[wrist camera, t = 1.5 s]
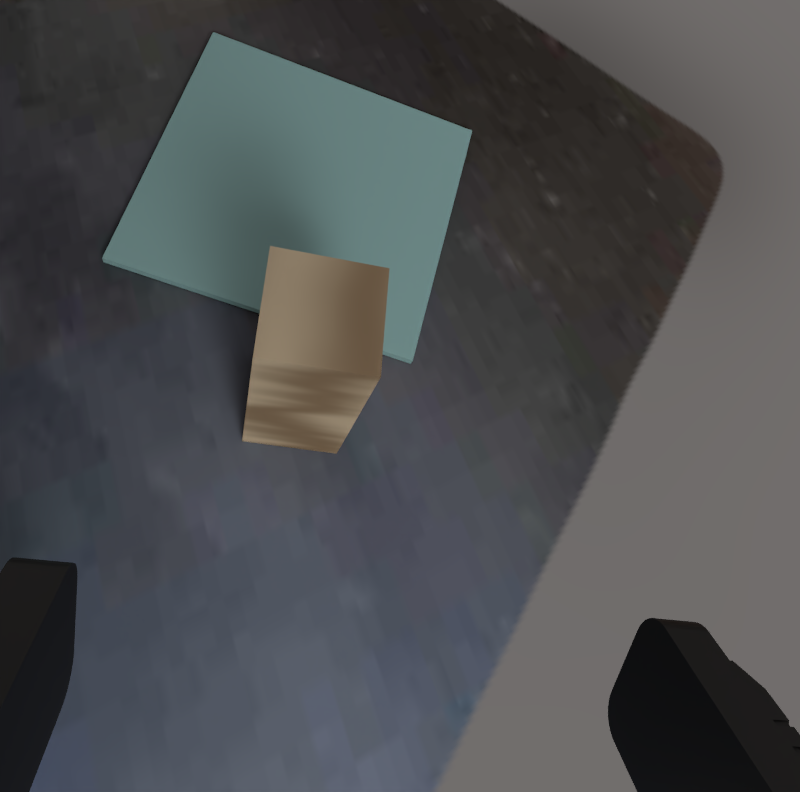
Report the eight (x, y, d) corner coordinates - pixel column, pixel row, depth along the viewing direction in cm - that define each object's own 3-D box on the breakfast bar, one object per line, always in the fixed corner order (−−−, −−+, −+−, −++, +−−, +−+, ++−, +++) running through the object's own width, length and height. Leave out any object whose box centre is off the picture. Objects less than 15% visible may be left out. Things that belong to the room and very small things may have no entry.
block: (242, 441, 33) (252, 357, 24) (255, 354, 35) (270, 245, 26) (336, 453, 34) (380, 377, 25) (345, 368, 36) (389, 268, 27)
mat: (103, 261, 35) (102, 257, 35) (213, 37, 41) (213, 31, 41) (410, 363, 37) (412, 360, 37) (470, 135, 43) (472, 130, 43)
